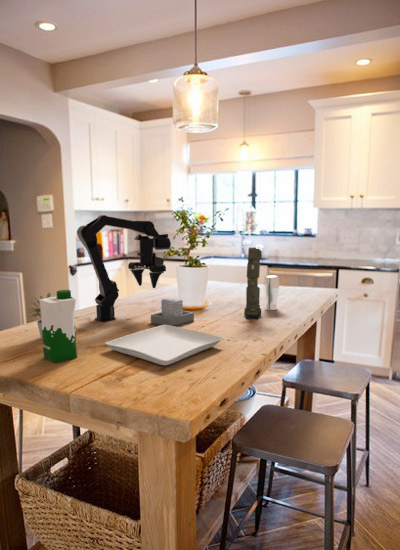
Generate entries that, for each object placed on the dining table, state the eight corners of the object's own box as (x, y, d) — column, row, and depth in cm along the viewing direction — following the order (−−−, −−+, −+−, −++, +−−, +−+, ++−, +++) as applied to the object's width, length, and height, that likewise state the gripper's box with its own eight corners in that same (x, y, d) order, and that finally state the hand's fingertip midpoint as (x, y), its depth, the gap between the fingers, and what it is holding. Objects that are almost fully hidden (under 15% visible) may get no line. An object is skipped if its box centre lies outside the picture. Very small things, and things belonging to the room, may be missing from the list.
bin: (169, 328, 153) (169, 319, 153) (150, 323, 160) (150, 314, 160) (193, 321, 163) (193, 312, 163) (175, 316, 170) (175, 308, 170)
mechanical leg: (260, 319, 162) (262, 245, 164) (242, 318, 163) (244, 245, 166) (261, 319, 175) (263, 250, 178) (245, 318, 177) (247, 250, 179)
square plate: (164, 333, 148) (164, 323, 147) (225, 348, 130) (225, 336, 130) (103, 352, 127) (103, 340, 126) (166, 373, 110) (166, 359, 109)
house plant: (26, 333, 147) (23, 289, 144) (66, 329, 151) (64, 286, 149) (24, 345, 133) (21, 296, 131) (68, 340, 138) (66, 293, 136)
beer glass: (278, 307, 188) (278, 275, 185) (279, 310, 181) (280, 277, 179) (262, 307, 188) (263, 275, 186) (263, 310, 181) (264, 277, 179)
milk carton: (81, 357, 121) (78, 291, 119) (52, 365, 115) (48, 296, 112) (67, 350, 128) (64, 288, 125) (39, 357, 121) (35, 292, 118)
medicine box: (183, 321, 161) (183, 299, 160) (175, 323, 157) (175, 301, 156) (169, 318, 166) (169, 297, 165) (161, 320, 163) (161, 299, 161)
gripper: (175, 250, 171) (175, 286, 174) (146, 248, 184) (147, 282, 186) (155, 252, 163) (155, 290, 166) (127, 249, 176) (128, 285, 178)
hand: (147, 286), depth 174 cm, fingers open, 9 cm apart
